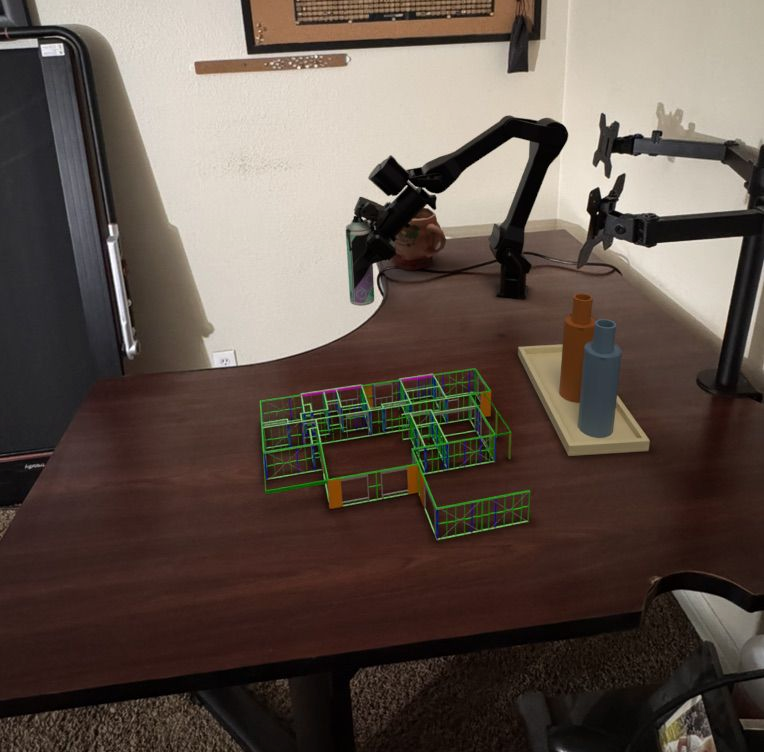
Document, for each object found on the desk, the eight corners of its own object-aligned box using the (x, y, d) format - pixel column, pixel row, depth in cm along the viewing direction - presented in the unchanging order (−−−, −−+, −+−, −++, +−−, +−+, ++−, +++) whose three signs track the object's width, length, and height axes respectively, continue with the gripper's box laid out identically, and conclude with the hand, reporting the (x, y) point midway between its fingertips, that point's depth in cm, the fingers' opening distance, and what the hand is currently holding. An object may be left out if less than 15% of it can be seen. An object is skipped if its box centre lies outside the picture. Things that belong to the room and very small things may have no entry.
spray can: (365, 307, 137) (361, 220, 130) (345, 302, 140) (339, 217, 133) (379, 298, 142) (375, 213, 135) (358, 293, 145) (354, 210, 138)
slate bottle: (577, 418, 97) (586, 314, 91) (612, 423, 96) (623, 317, 90) (577, 438, 93) (586, 329, 87) (613, 443, 91) (625, 333, 85)
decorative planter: (463, 267, 157) (464, 214, 152) (431, 282, 149) (430, 226, 144) (405, 250, 170) (404, 200, 166) (373, 262, 163) (370, 211, 158)
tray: (517, 355, 116) (518, 346, 115) (579, 351, 116) (580, 343, 116) (568, 456, 89) (569, 445, 89) (648, 451, 90) (650, 440, 89)
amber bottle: (559, 386, 106) (566, 289, 99) (590, 390, 104) (600, 291, 98) (558, 403, 101) (565, 302, 95) (590, 407, 100) (600, 305, 94)
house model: (473, 390, 106) (473, 365, 104) (554, 516, 79) (556, 485, 77) (262, 423, 99) (259, 397, 98) (272, 573, 72) (268, 541, 70)
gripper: (373, 174, 141) (327, 224, 144) (377, 196, 123) (324, 252, 127) (409, 207, 144) (363, 254, 147) (417, 233, 126) (365, 286, 130)
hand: (353, 260), depth 138 cm, fingers open, 9 cm apart
